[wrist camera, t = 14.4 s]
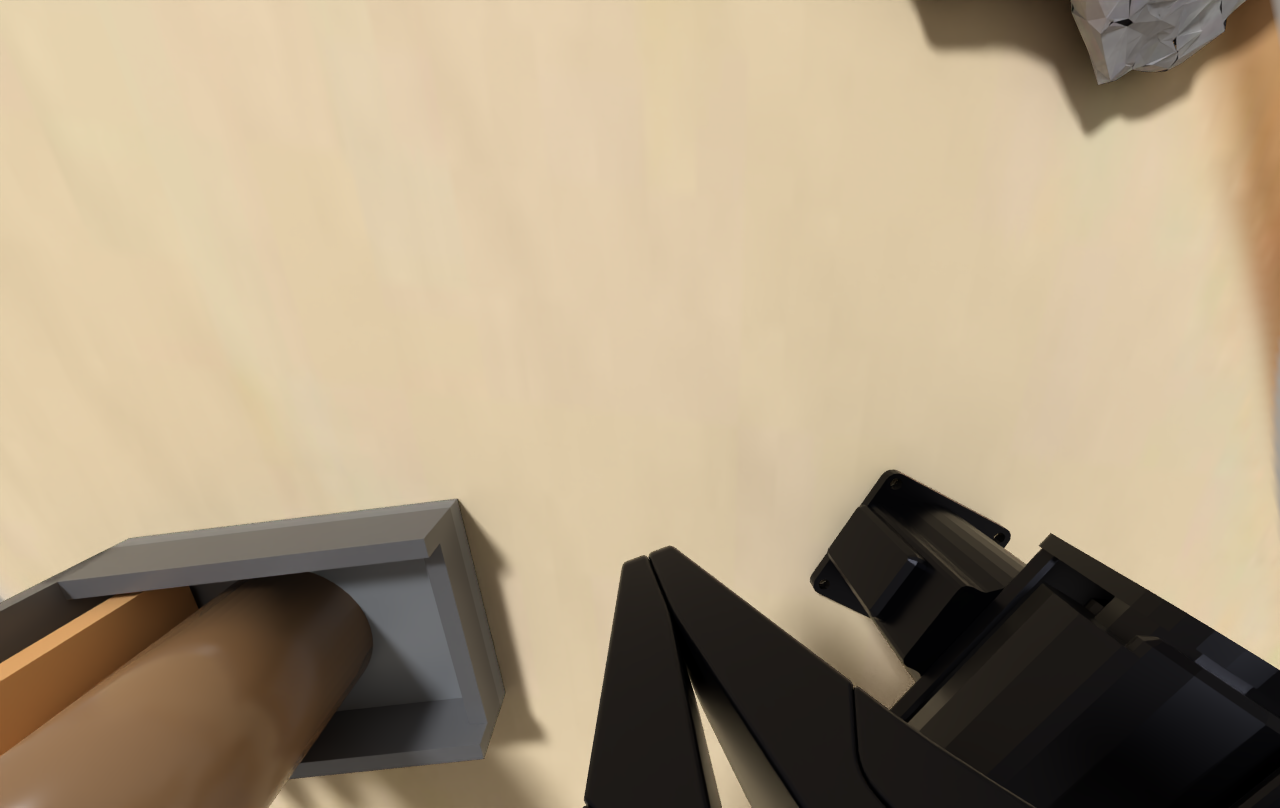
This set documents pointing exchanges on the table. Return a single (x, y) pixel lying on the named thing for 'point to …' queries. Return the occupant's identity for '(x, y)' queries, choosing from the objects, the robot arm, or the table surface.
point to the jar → (203, 706)
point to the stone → (1147, 32)
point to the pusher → (83, 656)
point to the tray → (373, 576)
